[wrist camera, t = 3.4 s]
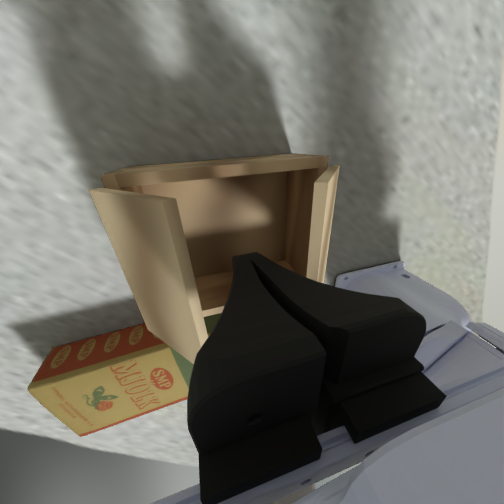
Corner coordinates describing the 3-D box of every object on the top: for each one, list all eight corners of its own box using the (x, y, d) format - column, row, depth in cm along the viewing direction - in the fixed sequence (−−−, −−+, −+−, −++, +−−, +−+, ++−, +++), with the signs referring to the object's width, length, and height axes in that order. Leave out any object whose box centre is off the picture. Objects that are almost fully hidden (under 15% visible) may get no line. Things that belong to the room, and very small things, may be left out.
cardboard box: (291, 153, 16) (328, 156, 12) (288, 261, 21) (313, 290, 17) (127, 166, 14) (99, 175, 10) (165, 285, 18) (158, 327, 14)
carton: (53, 343, 18) (19, 391, 15) (227, 297, 22) (235, 328, 18) (96, 393, 22) (78, 441, 19) (238, 348, 26) (246, 382, 22)
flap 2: (330, 165, 12) (339, 165, 12) (316, 286, 16) (323, 287, 16) (314, 182, 8) (328, 182, 8) (301, 342, 12) (309, 345, 12)
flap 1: (176, 198, 7) (162, 202, 6) (215, 367, 11) (208, 375, 11) (100, 187, 10) (88, 189, 9) (154, 324, 14) (147, 329, 13)
